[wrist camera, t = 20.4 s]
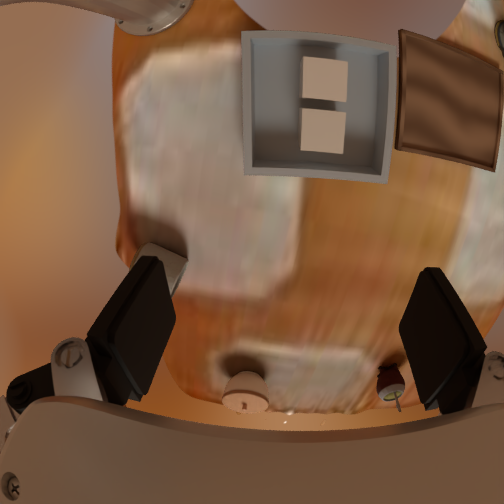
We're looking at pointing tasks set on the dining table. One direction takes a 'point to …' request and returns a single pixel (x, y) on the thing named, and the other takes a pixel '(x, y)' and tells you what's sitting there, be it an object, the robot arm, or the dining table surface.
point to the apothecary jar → (500, 35)
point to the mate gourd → (390, 384)
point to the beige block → (323, 79)
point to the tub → (316, 105)
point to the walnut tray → (448, 103)
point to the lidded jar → (246, 393)
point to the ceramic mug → (165, 263)
